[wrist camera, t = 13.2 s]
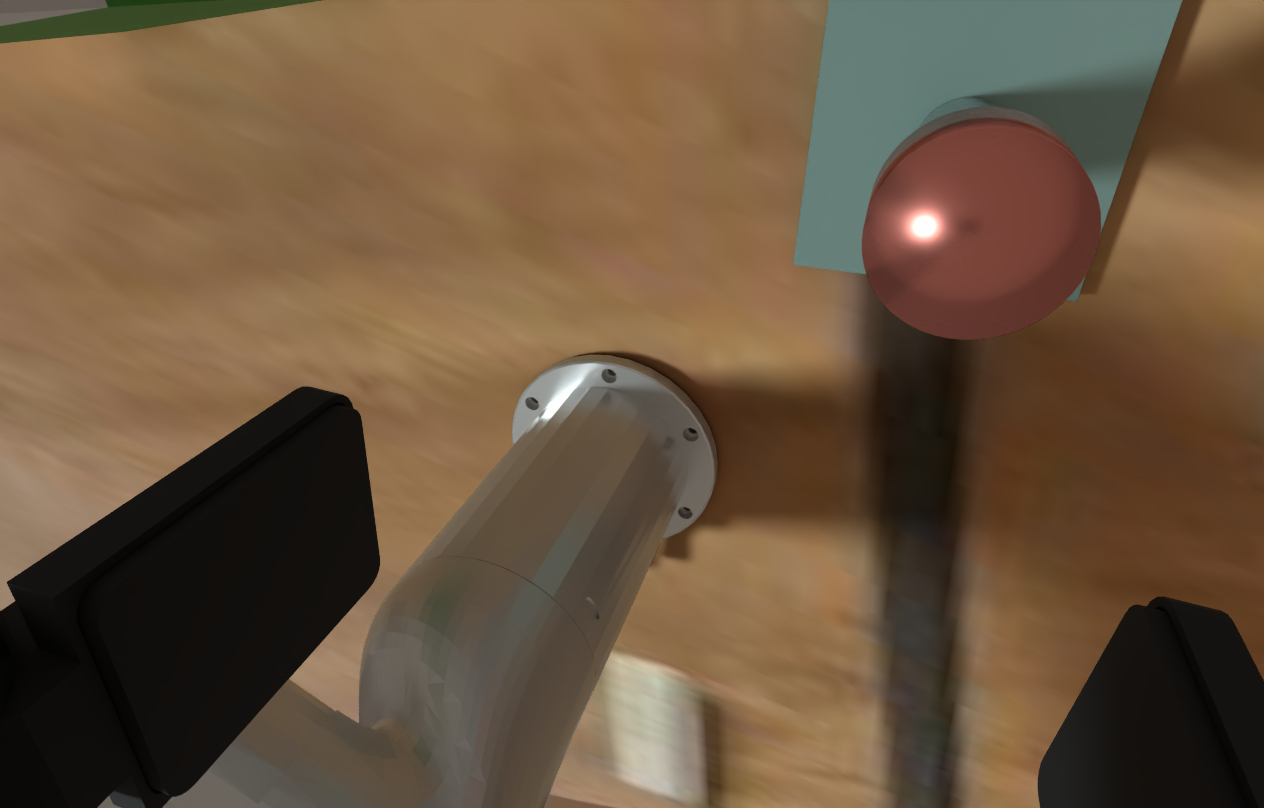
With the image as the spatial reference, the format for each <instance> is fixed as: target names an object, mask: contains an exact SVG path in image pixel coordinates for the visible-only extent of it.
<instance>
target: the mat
mask: <svg viewBox="0 0 1264 808" xmlns="http://www.w3.org/2000/svg"><path fill="white" fill-rule="evenodd" d="M1182 1H1183V0H829V6H828V13H827V20H826V28H825V35H824V42H823V50H822V57H821V64H820V72H819V79H818V86H817V94H816V101H815V109H814V116H813V123H812V131H811V138H810V145H809V153H808V160H807V167H806V175H805V182H804V189H803V197H802V204H801V212H800V219H799V226H798V234H797V241H796V248H795V256H794V263H793V265H799V266H807V267H815V268H822V269H830V270H838V271H845V272H853V273H861V274H866V272H865V269H864V264H863V258H862V233H863V227H864V222H865V218H866V214H867V209H868V205H869V201H870V196H871V192H872V188H873V185H874V183H875V180H876V178H877V175H878V173H879V172H880V170H881V168H882V166H883V164H884V163H885V161H886V160H887V159H888V157H889V156H890V154H891V153H892V152H893V151H894V150H895V149H896V147H897V146H898V145H899V144H900V143H901V142H902V141H903V140H904V139H906V138H907V137H908V136H909V135H910V134H911V133H913V132H914V131H916V130H917V129H918V128H919V126H920V125H921V123H922V122H923V120H924V119H925V118H926V117H927V115H928V114H929V113H930V112H932V111H933V110H934V109H935V108H937V107H938V106H940V105H941V104H943V103H945V102H947V101H950V100H953V99H957V98H963V97H974V98H980V99H984V100H986V101H988V102H990V103H992V104H994V105H995V106H996V107H1002V108H1009V109H1014V110H1017V111H1021V112H1024V113H1027V114H1029V115H1031V116H1034V117H1036V118H1038V119H1040V120H1041V121H1043V122H1044V123H1046V124H1048V125H1049V126H1050V127H1051V128H1053V129H1054V130H1055V131H1056V132H1057V133H1058V134H1059V135H1060V136H1061V137H1062V138H1063V139H1064V141H1065V142H1066V143H1067V144H1068V146H1069V147H1070V149H1071V150H1072V152H1073V153H1074V155H1075V156H1076V158H1077V159H1078V161H1079V162H1080V164H1081V165H1082V167H1083V168H1084V170H1085V171H1086V173H1087V175H1088V176H1089V178H1090V180H1091V182H1092V183H1093V186H1094V188H1095V191H1096V194H1097V196H1098V200H1099V205H1100V210H1101V231H1102V228H1103V226H1104V223H1105V220H1106V217H1107V214H1108V211H1109V208H1110V206H1111V203H1112V200H1113V197H1114V194H1115V191H1116V188H1117V186H1118V183H1119V180H1120V177H1121V174H1122V171H1123V169H1124V166H1125V163H1126V160H1127V157H1128V154H1129V151H1130V149H1131V146H1132V143H1133V140H1134V137H1135V134H1136V132H1137V129H1138V126H1139V123H1140V120H1141V117H1142V114H1143V112H1144V109H1145V106H1146V103H1147V100H1148V97H1149V95H1150V92H1151V89H1152V86H1153V83H1154V80H1155V77H1156V75H1157V72H1158V69H1159V66H1160V63H1161V60H1162V57H1163V55H1164V52H1165V49H1166V46H1167V43H1168V40H1169V38H1170V35H1171V32H1172V29H1173V26H1174V23H1175V20H1176V18H1177V15H1178V12H1179V9H1180V6H1181V3H1182ZM1100 234H1101V233H1100ZM1085 277H1086V276H1085ZM1085 277H1084V279H1083V281H1082V282H1081V283H1080V285H1079V286H1078V287H1077V288H1076V290H1075V291H1074V292H1073V293H1072V295H1071V296H1070V297H1068V298H1067V299H1066V300H1068V301H1076V302H1077V300H1078V297H1079V294H1080V291H1081V288H1082V285H1083V282H1084V280H1085Z"/></svg>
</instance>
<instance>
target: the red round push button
mask: <svg viewBox="0 0 1264 808" xmlns="http://www.w3.org/2000/svg"><path fill="white" fill-rule="evenodd" d="M1100 233H1101V210H1100V205H1099V200H1098V196H1097V194H1096V191H1095V188H1094V186H1093V183H1092V182H1091V180H1090V178H1089V176H1088V175H1087V173H1086V171H1085V170H1084V168H1083V167H1082V165H1081V164H1080V162H1079V161H1078V159H1077V158H1076V156H1075V155H1074V153H1073V152H1072V150H1071V149H1070V147H1069V146H1068V144H1067V143H1066V142H1065V141H1064V139H1063V138H1062V137H1061V136H1060V135H1059V134H1058V133H1057V132H1056V131H1055V130H1054V129H1053V128H1051V127H1050V126H1049V125H1048V124H1046V123H1044V122H1043V121H1041V120H1040V119H1038V118H1036V117H1034V116H1031V115H1029V114H1027V113H1024V112H1021V111H1017V110H1014V109H1009V108H1002V107H996V106H995V105H994V104H992V103H990V102H988V101H986V100H984V99H980V98H974V97H963V98H957V99H953V100H950V101H947V102H945V103H943V104H941V105H940V106H938V107H937V108H935V109H934V110H933V111H932V112H930V113H929V114H928V115H927V117H926V118H925V119H924V120H923V122H922V123H921V125H920V126H919V128H918V129H917V130H916V131H914V132H913V133H911V134H910V135H909V136H908V137H907V138H906V139H904V140H903V141H902V142H901V143H900V144H899V145H898V146H897V147H896V149H895V150H894V151H893V152H892V153H891V154H890V156H889V157H888V159H887V160H886V161H885V163H884V164H883V166H882V168H881V170H880V172H879V173H878V175H877V178H876V180H875V183H874V185H873V188H872V192H871V196H870V201H869V205H868V209H867V214H866V218H865V222H864V227H863V233H862V258H863V264H864V269H865V272H866V275H867V278H868V280H869V282H870V284H871V286H872V288H873V290H874V292H875V293H876V295H877V296H878V298H879V299H880V301H881V302H882V303H883V304H884V305H885V306H886V307H887V308H888V310H889V311H891V312H892V313H893V314H894V315H895V316H897V317H898V318H899V319H900V320H902V321H904V322H905V323H907V324H908V325H910V326H912V327H914V328H916V329H918V330H921V331H923V332H926V333H929V334H932V335H935V336H939V337H944V338H949V339H960V340H978V339H986V338H993V337H998V336H1002V335H1006V334H1009V333H1012V332H1015V331H1018V330H1021V329H1023V328H1025V327H1027V326H1029V325H1031V324H1034V323H1036V322H1037V321H1039V320H1041V319H1042V318H1044V317H1045V316H1047V315H1049V314H1050V313H1051V312H1053V311H1054V310H1055V309H1056V308H1058V307H1059V306H1060V305H1061V304H1062V303H1063V302H1064V301H1065V300H1066V299H1067V298H1068V297H1070V296H1071V295H1072V293H1073V292H1074V291H1075V290H1076V288H1077V287H1078V286H1079V285H1080V283H1081V282H1082V281H1083V279H1084V277H1085V276H1086V274H1087V272H1088V271H1089V269H1090V267H1091V264H1092V262H1093V260H1094V258H1095V255H1096V252H1097V248H1098V244H1099V241H1100Z"/></svg>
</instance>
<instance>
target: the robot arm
mask: <svg viewBox="0 0 1264 808" xmlns="http://www.w3.org/2000/svg"><path fill="white" fill-rule="evenodd" d="M612 370H613V371H614V372H613V371H612ZM512 437H513V446H512V448H511V449H510V450H509V451H508V452H507V453H506V455H505V456H504V457H503V458H502V459H501V461H500V462H499V463H498V464H497V465H496V467H495V468H494V469H493V470H492V471H491V472H490V474H489V475H488V476H487V477H486V478H485V480H484V481H483V482H482V483H481V484H480V485H479V487H478V488H477V489H476V490H475V491H474V493H473V494H472V495H471V496H470V497H469V498H468V500H467V501H466V502H465V503H464V504H463V506H462V507H461V508H460V509H459V510H458V511H457V513H456V514H455V515H454V516H453V517H452V519H451V520H450V521H449V522H448V523H447V525H446V526H445V527H444V528H443V529H442V530H441V532H440V533H439V534H438V535H437V536H436V538H435V539H434V540H433V541H432V542H431V543H430V545H429V546H428V547H427V548H426V549H425V551H424V552H423V553H422V554H421V555H420V556H419V558H418V559H417V560H416V561H415V562H414V564H413V565H412V566H411V567H410V569H409V570H408V571H407V572H406V573H405V575H404V576H403V577H402V578H401V579H400V580H399V582H398V583H397V584H396V585H395V586H394V588H393V589H392V590H391V591H390V592H389V594H388V595H387V597H386V598H385V599H384V601H383V602H382V604H381V606H380V608H379V609H378V611H377V613H376V615H375V617H374V619H373V621H372V623H371V626H370V629H369V632H368V635H367V638H366V641H365V644H364V649H363V654H362V661H361V667H360V680H359V723H357V722H355V721H354V720H352V719H351V718H349V717H347V716H346V715H344V714H343V713H341V712H340V711H338V710H337V711H334V710H333V709H331V708H330V707H328V706H327V705H326V704H324V703H323V702H321V701H320V700H318V699H317V698H315V697H314V696H313V695H311V694H310V693H308V692H307V691H305V690H304V689H302V688H301V687H300V686H298V685H297V684H295V683H294V682H292V681H291V680H289V678H290V677H291V676H292V675H293V674H294V672H295V671H296V670H297V669H298V668H299V667H300V666H301V665H302V663H303V662H304V661H305V660H306V659H307V658H308V657H309V656H310V654H311V653H312V652H313V651H314V650H315V649H316V648H317V647H318V645H319V644H320V643H321V642H322V641H323V640H324V639H325V638H326V636H327V635H328V634H329V633H330V632H331V631H332V630H333V629H334V627H335V626H336V625H337V624H338V623H339V622H340V621H341V619H342V618H343V617H344V616H345V615H346V614H347V613H348V612H349V610H350V609H351V608H352V607H353V606H354V605H355V604H356V603H357V601H358V600H359V599H360V598H361V597H362V596H363V595H364V594H365V592H366V591H367V590H368V589H369V588H370V587H371V585H372V584H373V583H374V581H375V579H376V577H377V574H378V571H379V567H380V555H379V547H378V540H377V532H376V525H375V517H374V510H373V502H372V495H371V487H370V480H369V472H368V464H367V457H366V449H365V442H364V434H363V427H362V420H361V416H360V414H359V412H358V411H357V410H355V409H353V406H352V403H351V401H350V400H349V398H348V397H346V396H344V395H341V394H337V393H333V392H329V391H325V390H321V389H317V388H313V387H300V388H298V389H296V390H294V391H293V392H291V393H290V394H288V395H287V396H285V397H284V398H282V399H281V400H279V401H278V402H276V403H275V404H273V405H272V406H270V407H269V408H267V409H266V410H264V411H263V412H261V413H260V414H258V415H257V416H255V417H254V418H252V419H251V420H249V421H248V422H246V423H245V424H243V425H242V426H240V427H239V428H237V429H236V430H234V431H233V432H231V433H230V434H228V435H227V436H225V437H224V438H222V439H221V440H219V441H218V442H216V443H215V444H213V445H212V446H210V447H209V448H207V449H206V450H204V451H203V452H201V453H200V454H198V455H197V456H195V457H194V458H192V459H191V460H189V461H188V462H186V463H185V464H183V465H182V466H180V467H179V468H177V469H176V470H174V471H173V472H171V473H170V474H168V475H167V476H165V477H164V478H162V479H161V480H159V481H158V482H156V483H155V484H153V485H152V486H150V487H149V488H147V489H146V490H144V491H143V492H141V493H140V494H138V495H137V496H135V497H134V498H132V499H131V500H129V501H128V502H126V503H125V504H123V505H122V506H120V507H119V508H117V509H116V510H114V511H113V512H111V513H110V514H108V515H107V516H105V517H104V518H102V519H101V520H99V521H98V522H96V523H95V524H93V525H92V526H90V527H89V528H87V529H86V530H84V531H83V532H81V533H80V534H78V535H77V536H75V537H74V538H72V539H71V540H69V541H68V542H66V543H65V544H63V545H62V546H60V547H59V548H57V549H56V550H54V551H53V552H51V553H50V554H48V555H47V556H45V557H44V558H42V559H41V560H39V561H38V562H36V563H35V564H33V565H32V566H30V567H29V568H27V569H26V570H24V571H23V572H21V573H20V574H18V575H17V576H15V577H14V578H12V579H11V580H9V581H8V582H7V584H8V586H9V588H10V590H11V593H12V595H13V597H14V599H15V602H13V603H12V604H10V605H9V606H8V607H6V608H5V609H3V610H2V611H0V808H544V807H545V804H546V802H547V799H548V796H549V794H550V791H551V788H552V786H553V783H554V780H555V778H556V775H557V773H558V770H559V768H560V765H561V763H562V761H563V758H564V756H565V754H566V751H567V749H568V747H569V744H570V742H571V739H572V737H573V735H574V733H575V730H576V728H577V726H578V723H579V721H580V719H581V717H582V715H583V712H584V710H585V708H586V706H587V703H588V701H589V699H590V697H591V695H592V692H593V690H594V688H595V686H596V684H597V681H598V679H599V677H600V675H601V673H602V670H603V668H604V666H605V664H606V662H607V659H608V657H609V655H610V653H611V651H612V648H613V646H614V644H615V642H616V640H617V637H618V635H619V633H620V631H621V628H622V626H623V624H624V622H625V620H626V617H627V615H628V613H629V611H630V609H631V606H632V604H633V602H634V600H635V598H636V595H637V593H638V591H639V589H640V587H641V584H642V582H643V580H644V578H645V575H646V573H647V571H648V569H649V567H650V564H651V562H652V560H653V558H654V556H655V553H656V551H657V549H658V547H659V545H660V542H661V540H662V539H666V538H668V537H670V536H673V535H675V534H677V533H680V532H681V531H683V530H684V529H686V528H687V527H688V526H690V525H691V524H692V523H694V522H695V520H696V519H697V518H698V517H699V516H700V515H701V513H702V512H703V511H704V509H705V507H706V505H707V503H708V501H709V499H710V497H711V495H712V492H713V489H714V486H715V483H716V480H717V469H718V459H717V451H716V445H715V442H714V439H713V436H712V433H711V430H710V427H709V426H708V424H707V422H706V420H705V419H704V417H703V415H702V413H701V412H700V410H699V409H698V408H697V406H696V405H695V404H694V403H693V402H692V400H691V399H690V398H689V397H688V396H687V394H686V393H685V392H683V391H682V390H681V389H680V388H679V387H678V386H676V385H675V384H674V383H673V382H672V381H671V380H669V379H668V378H666V377H665V376H663V375H661V374H660V373H658V372H656V371H655V370H653V369H651V368H649V367H647V366H644V365H642V364H639V363H637V362H634V361H632V360H629V359H624V358H620V357H615V356H611V355H584V356H577V357H571V358H568V359H566V360H563V361H560V362H558V363H555V364H553V365H552V366H550V367H549V368H547V369H546V370H545V371H543V372H542V373H540V374H539V375H538V377H537V378H536V379H535V380H534V381H533V382H532V383H531V384H530V385H529V386H528V387H527V388H526V390H525V391H524V392H523V394H522V395H521V397H520V399H519V401H518V404H517V407H516V409H515V412H514V417H513V424H512ZM1038 796H1039V802H1040V808H1264V681H1263V679H1262V677H1261V675H1260V673H1259V671H1258V669H1257V667H1256V665H1255V663H1254V661H1253V659H1252V657H1251V655H1250V653H1249V651H1248V649H1247V647H1246V645H1245V643H1244V641H1243V639H1242V637H1241V635H1240V634H1239V632H1238V630H1237V628H1236V626H1235V624H1234V622H1233V621H1232V619H1231V618H1230V617H1229V615H1228V614H1226V613H1224V612H1222V611H1220V610H1216V609H1212V608H1208V607H1204V606H1199V605H1195V604H1191V603H1187V602H1183V601H1179V600H1175V599H1171V598H1167V597H1156V598H1155V599H1153V600H1152V601H1150V603H1149V604H1148V605H1147V607H1146V606H1142V605H1133V606H1132V607H1130V608H1129V609H1128V611H1127V612H1126V613H1125V615H1124V617H1123V619H1122V620H1121V622H1120V624H1119V626H1118V627H1117V629H1116V631H1115V633H1114V634H1113V636H1112V638H1111V640H1110V641H1109V643H1108V645H1107V647H1106V648H1105V650H1104V652H1103V654H1102V656H1101V657H1100V659H1099V661H1098V663H1097V664H1096V666H1095V668H1094V670H1093V671H1092V673H1091V675H1090V677H1089V678H1088V680H1087V682H1086V684H1085V685H1084V687H1083V689H1082V691H1081V692H1080V694H1079V696H1078V698H1077V699H1076V701H1075V703H1074V705H1073V707H1072V708H1071V710H1070V712H1069V714H1068V715H1067V717H1066V719H1065V721H1064V722H1063V724H1062V726H1061V728H1060V729H1059V731H1058V733H1057V735H1056V736H1055V738H1054V740H1053V742H1052V743H1051V745H1050V747H1049V749H1048V750H1047V752H1046V754H1045V756H1044V758H1043V760H1042V762H1041V765H1040V769H1039V775H1038Z"/></svg>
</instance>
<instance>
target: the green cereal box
mask: <svg viewBox="0 0 1264 808" xmlns="http://www.w3.org/2000/svg"><path fill="white" fill-rule="evenodd" d="M314 1H321V0H0V43H9V42H20V41H31V40H41V39H52V38H63V37H73V36H84V35H95V34H105V33H116V32H125V31H132V30H138V29H144V28H151V27H157V26H163V25H169V24H176V23H182V22H188V21H195V20H201V19H207V18H214V17H220V16H226V15H232V14H239V13H245V12H251V11H258V10H264V9H270V8H276V7H283V6H289V5H295V4H302V3H308V2H314Z"/></svg>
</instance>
